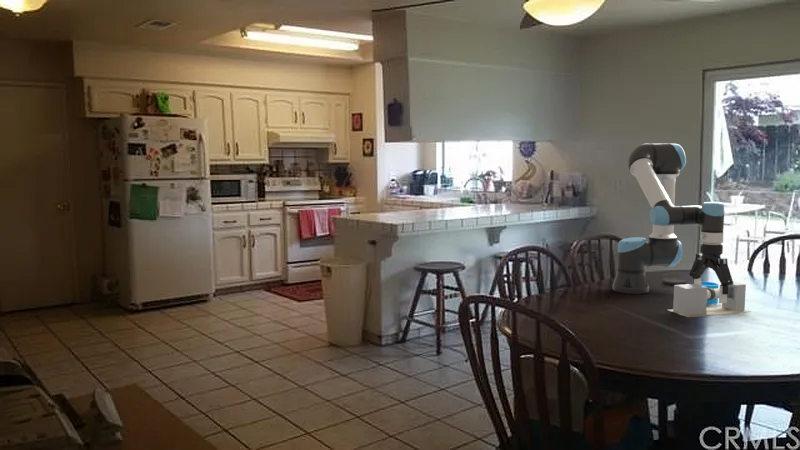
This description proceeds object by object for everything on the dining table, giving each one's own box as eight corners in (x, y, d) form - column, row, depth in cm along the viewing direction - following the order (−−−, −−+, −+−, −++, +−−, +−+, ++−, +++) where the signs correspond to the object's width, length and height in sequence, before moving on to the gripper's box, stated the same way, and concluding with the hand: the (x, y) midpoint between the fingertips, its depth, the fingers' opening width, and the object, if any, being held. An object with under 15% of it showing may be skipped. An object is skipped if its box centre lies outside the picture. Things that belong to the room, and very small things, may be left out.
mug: (715, 306, 253) (716, 286, 252) (693, 304, 257) (693, 284, 257) (721, 301, 262) (722, 281, 261) (700, 298, 267) (700, 279, 266)
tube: (686, 302, 237) (687, 291, 236) (679, 300, 241) (679, 288, 241) (726, 299, 241) (727, 288, 241) (718, 297, 245) (718, 286, 245)
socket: (735, 311, 241) (736, 285, 240) (722, 307, 248) (723, 281, 247) (744, 310, 242) (745, 284, 241) (730, 306, 249) (731, 281, 248)
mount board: (666, 312, 245) (666, 309, 245) (728, 307, 252) (728, 304, 251) (687, 319, 233) (687, 317, 233) (751, 314, 240) (751, 311, 240)
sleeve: (685, 315, 236) (686, 288, 235) (673, 311, 242) (674, 285, 241) (706, 313, 238) (707, 287, 237) (693, 309, 245) (694, 283, 244)
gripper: (680, 239, 251) (679, 293, 253) (727, 248, 226) (725, 306, 229) (697, 239, 252) (695, 292, 254) (745, 247, 228) (743, 305, 230)
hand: (709, 299), depth 241 cm, fingers open, 13 cm apart
